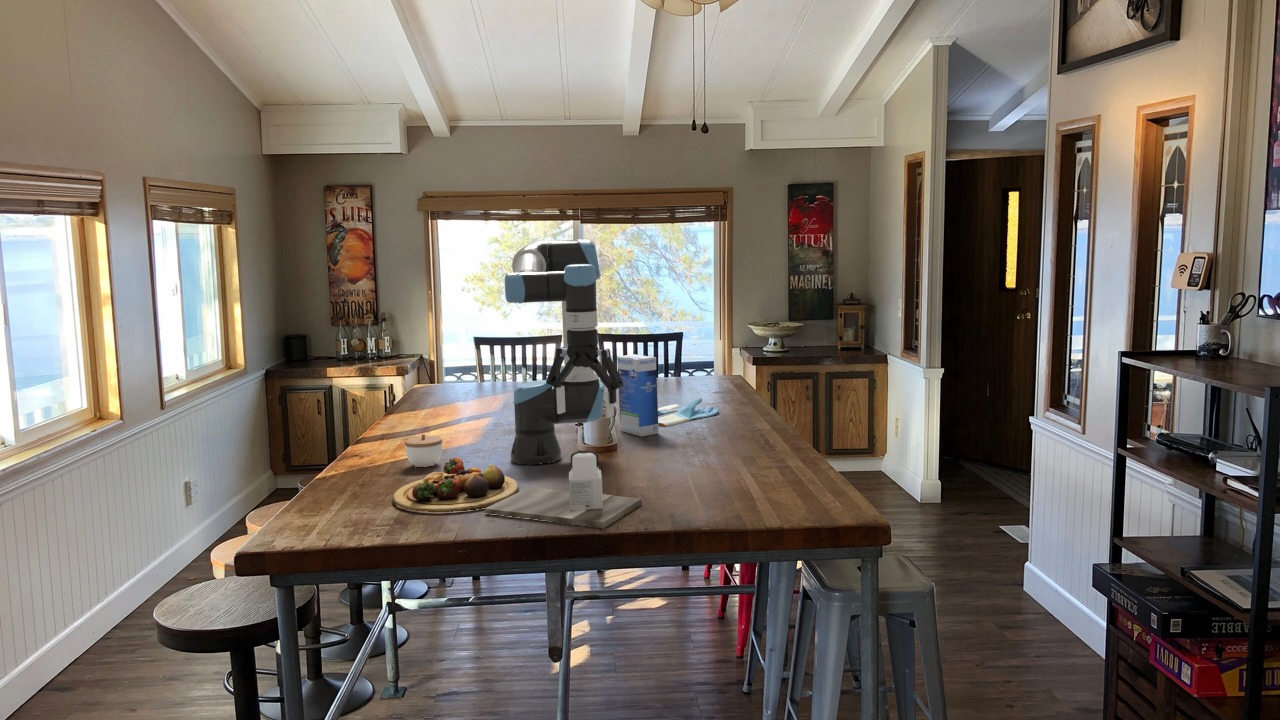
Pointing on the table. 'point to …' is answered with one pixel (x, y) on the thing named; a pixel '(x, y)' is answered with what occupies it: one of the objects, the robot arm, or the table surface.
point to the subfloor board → (562, 508)
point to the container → (585, 481)
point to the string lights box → (638, 395)
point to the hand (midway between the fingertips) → (585, 414)
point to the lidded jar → (424, 450)
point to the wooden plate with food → (456, 489)
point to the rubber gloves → (684, 413)
